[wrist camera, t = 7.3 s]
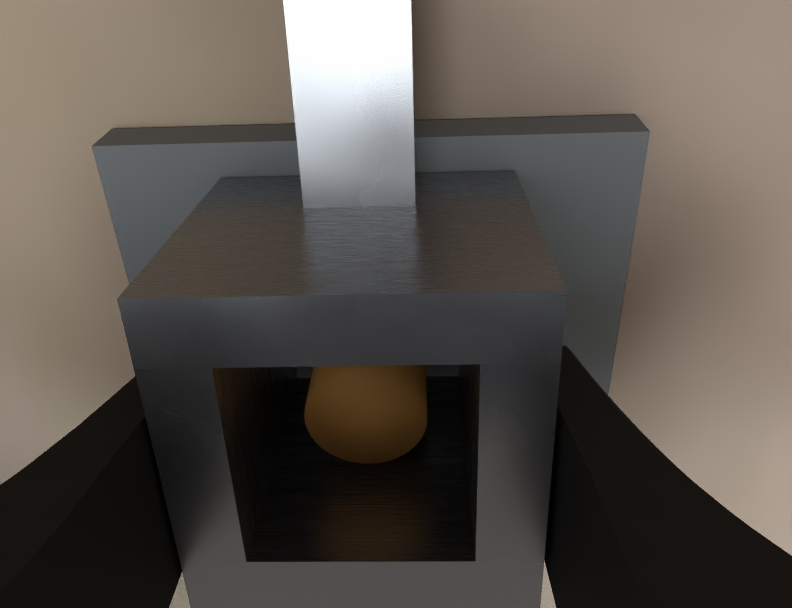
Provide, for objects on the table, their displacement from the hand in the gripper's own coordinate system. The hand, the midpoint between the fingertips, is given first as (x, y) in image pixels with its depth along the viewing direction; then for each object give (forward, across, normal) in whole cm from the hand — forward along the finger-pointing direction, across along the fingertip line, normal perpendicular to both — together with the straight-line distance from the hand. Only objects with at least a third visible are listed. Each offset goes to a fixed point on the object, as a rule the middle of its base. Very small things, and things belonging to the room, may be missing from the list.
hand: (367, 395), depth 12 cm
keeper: (+4, 0, 0) cm, 4 cm away
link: (+3, 0, -2) cm, 4 cm away
